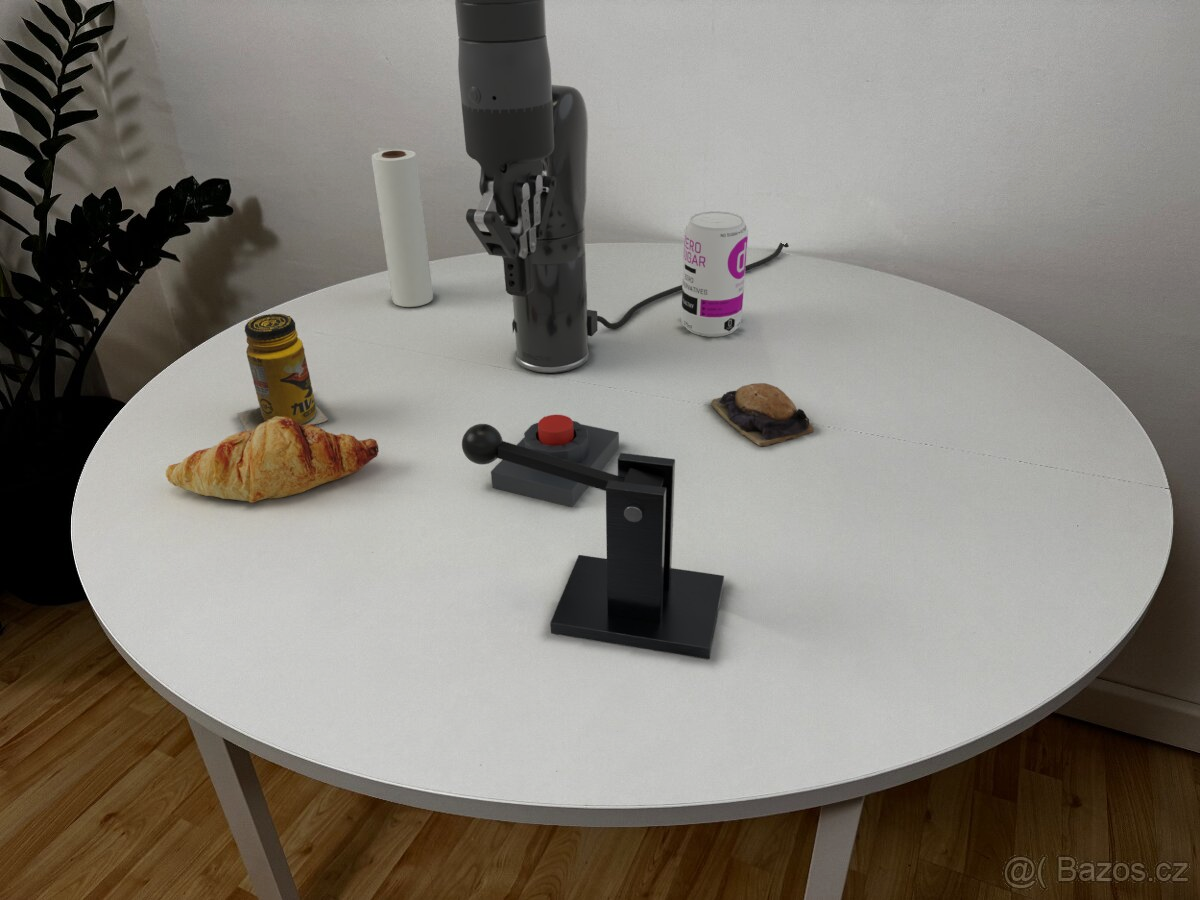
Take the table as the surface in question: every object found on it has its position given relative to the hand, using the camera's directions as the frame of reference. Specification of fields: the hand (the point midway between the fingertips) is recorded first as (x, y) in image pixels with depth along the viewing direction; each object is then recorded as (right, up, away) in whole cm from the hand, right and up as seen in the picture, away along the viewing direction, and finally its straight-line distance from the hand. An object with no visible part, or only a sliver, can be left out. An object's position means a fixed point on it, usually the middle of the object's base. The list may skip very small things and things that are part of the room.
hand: (520, 292), depth 83 cm
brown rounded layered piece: (+26, -11, +19) cm, 34 cm away
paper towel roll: (-20, +8, +50) cm, 55 cm away
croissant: (-26, -18, +10) cm, 33 cm away
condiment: (-29, -11, +20) cm, 38 cm away
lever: (+4, -17, -13) cm, 22 cm away
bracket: (+11, -28, -8) cm, 31 cm away
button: (+3, -13, +9) cm, 16 cm away
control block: (+3, -16, +11) cm, 20 cm away
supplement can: (+23, +2, +40) cm, 46 cm away
